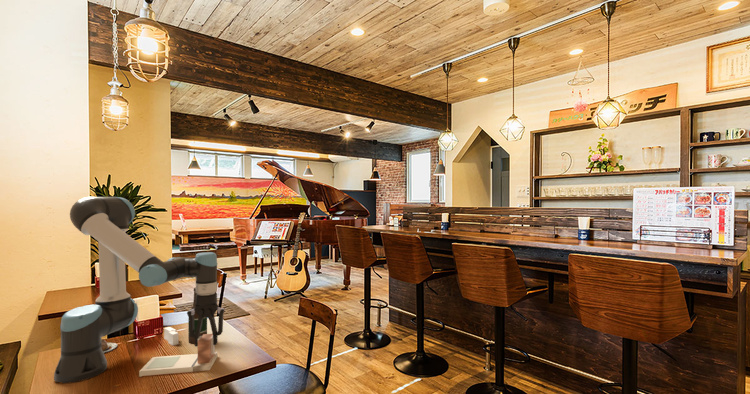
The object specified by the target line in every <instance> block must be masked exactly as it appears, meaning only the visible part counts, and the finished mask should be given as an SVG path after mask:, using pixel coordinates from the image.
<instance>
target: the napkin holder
mask: <svg viewBox="0 0 750 394" xmlns="http://www.w3.org/2000/svg"><path fill="white" fill-rule="evenodd" d="M163 329H164V330H163V333H164V334H163V338H164V340H165V341H167V343H168V344H169V345H170V346H177V345H179V332H177V329H175V328H173V327H171V326H167V327H164V328H163Z"/></svg>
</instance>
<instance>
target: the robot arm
mask: <svg viewBox="0 0 750 394" xmlns="http://www.w3.org/2000/svg"><path fill="white" fill-rule="evenodd" d="M135 216H136V211H135V207H134V205H133V203H132V202H130V200H128V199H126V198H124V197H118V196H85V197H82V198H80V199H78V200H77V201H75V202H74V203H73V205H72V206H71V208H70V212H69V219H70V221H71V223H72V225H73V226H74V228H76V229H77V230H78V231H79V232H81V233H82V234H83V235H85V236H91V237H93V238H94V240H95V241H97V242H98V271H99V276H98V277H99V296H98V297H97V298H96V299H95V301H94V302H95V304H86V305H83V306H78V307H74V308H72V309H70V310H68V311H66V312H65V313H64V314H63V315H62V316H61V322H60V326H59V327H60V358H59V359H58V362H57V364H56V366H55V367H56V368H55V370H54V373H53V381H54V380H55V381H54V382H56V381H57V382H56V383H58V382H62V383H61V384H68V383H69V382H71V383H77V382H81V380H82V381H84V380H89V379H92V378H95V377H96V376H99V375H101V374H102V373H103V372H105V371H106V370H107V368H108V360H107V358H106V355H105V353H103V352H104V351H102V348H101V339H102V338H103V337H105V336H108V335H110V334H113V333H115V332H119V331H122V330H123V329H125V328H126V327H128V326H130V325H131V324H133V323H134V322H135V321H136V319H137V316H138V312H139V307H138V304H137V302H135V300H134V299H133V298H131V297H132V295H131V294H130V293H128V291H127V282H126V281H127V280H126V279H127V278H126V264H127V265H128V266H129V267H131V268H132V269H133V270H135V272H137V274H138V279H139V281H140V284H141V285H142V286H144V287H149V288H151V287H156V286H161V285H163V284H166V283H169V282H172V281H175V280H179V279H182V278H195V287H196V293H197V294H196V306H195V308H194V309H192V310H191V309H189V310H188V311H187V312H186V314H187V316H188V318H189V336H190V337H194V338H195V344H194V347H198V341H199V340H200V338H201V337H202V336H199V335H200V331H201V327H202V322H203V318H205V317H206V318H207V319H208V321H209V324H210V329H211V332H212V333H211V334H213V336H212V337H211V355H213V354H214V352H216V348H215V347H216V345H217V344H218V336H220V335H222V333H223V330H224V313H225V311H226V308H225V307H219V305H218V293H217V291H218V278H217V277H218V257H217V254H216V253H215V252H212V251H210V252H209V251H207V252H206V251H205V252H198V253H196V254H195V257H183V256H182V257H181V256H177V257H176V256H175V257H170V258H168V260H166V261H163V260H161V259H160V258H158V257H157V256H156V255H155V254H153V253H152V252H151V251H150V250H148V249H147V248H145V247H144V246H143V245H142V244H141V243H139V242H138V241H136V240H135V239H134V238H132V237H131V236H130V235H129V234H128V233H126V232H127V231H128V230H129V225H130V224H131V223H132V222H133V220H134V219H135ZM195 312H196V313H197V314H198V316H199V318H198V323H197V328H196V332H195V326H194V314H195ZM216 312H217V314H218V320H217V321H218V323H217V324H218V326H217V324H216V319H215V314H216Z"/></svg>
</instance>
